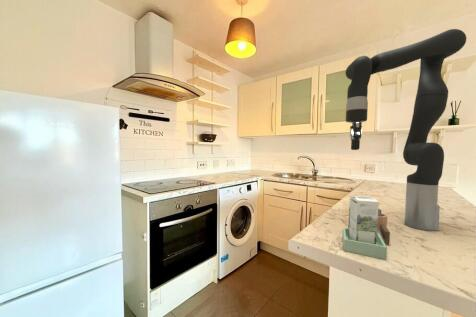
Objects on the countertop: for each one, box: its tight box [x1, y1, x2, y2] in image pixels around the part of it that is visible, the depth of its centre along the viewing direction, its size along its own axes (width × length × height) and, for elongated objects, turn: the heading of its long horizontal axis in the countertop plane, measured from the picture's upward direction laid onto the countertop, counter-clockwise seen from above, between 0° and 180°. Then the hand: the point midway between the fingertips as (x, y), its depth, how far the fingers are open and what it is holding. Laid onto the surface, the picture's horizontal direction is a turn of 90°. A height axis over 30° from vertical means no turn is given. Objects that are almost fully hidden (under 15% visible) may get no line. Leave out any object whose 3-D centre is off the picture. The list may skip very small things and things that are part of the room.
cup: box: [377, 212, 388, 231], centre depth 74 cm, size 6×6×6 cm
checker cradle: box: [380, 223, 391, 246], centre depth 68 cm, size 11×8×4 cm
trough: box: [342, 227, 388, 260], centre depth 61 cm, size 10×10×3 cm
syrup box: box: [347, 195, 380, 244], centre depth 60 cm, size 6×6×14 cm
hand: (354, 149), depth 81 cm, fingers open, 8 cm apart
